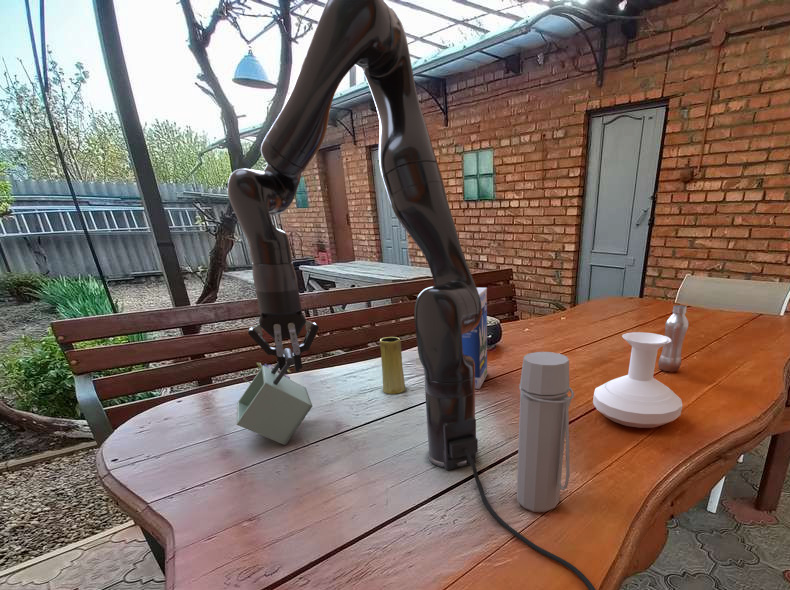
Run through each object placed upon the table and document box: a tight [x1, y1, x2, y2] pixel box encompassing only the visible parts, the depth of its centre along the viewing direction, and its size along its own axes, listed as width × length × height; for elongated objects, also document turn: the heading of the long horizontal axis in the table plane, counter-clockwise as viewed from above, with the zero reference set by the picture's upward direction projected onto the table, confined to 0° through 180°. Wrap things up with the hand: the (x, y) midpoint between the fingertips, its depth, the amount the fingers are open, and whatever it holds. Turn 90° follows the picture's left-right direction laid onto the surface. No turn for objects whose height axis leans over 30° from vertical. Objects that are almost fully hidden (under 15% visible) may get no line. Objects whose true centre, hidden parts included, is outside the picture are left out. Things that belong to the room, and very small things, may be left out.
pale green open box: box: [236, 347, 313, 446], centre depth 90 cm, size 12×16×10 cm
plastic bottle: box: [657, 304, 690, 372], centre depth 129 cm, size 6×7×20 cm
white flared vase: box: [592, 331, 683, 429], centre depth 98 cm, size 20×20×19 cm
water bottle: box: [516, 351, 575, 513], centre depth 65 cm, size 9×8×25 cm
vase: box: [379, 336, 407, 395], centre depth 114 cm, size 6×6×14 cm
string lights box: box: [462, 287, 488, 390], centre depth 119 cm, size 13×8×26 cm, turn 171°
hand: (291, 371), depth 89 cm, fingers closed on pale green open box
